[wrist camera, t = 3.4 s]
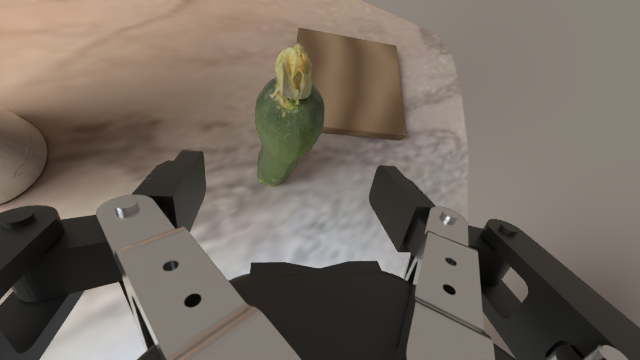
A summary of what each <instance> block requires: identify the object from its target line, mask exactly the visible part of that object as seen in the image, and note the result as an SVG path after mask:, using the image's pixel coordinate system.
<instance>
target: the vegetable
mask: <svg viewBox="0 0 640 360" xmlns="http://www.w3.org/2000/svg"><path fill="white" fill-rule="evenodd" d="M311 67H312V63H311V59H310V58H309V57H308V54H307V53H306V52H304V48H303V47H301V45H300V44H299V43H297V42H296V44H295V46H294V48H292V47H288V48H287V49H285V50H283V51H282V52H281V53H280V54H279V55H278V57H277V60H276V63H275V72H276V78H274V79H272V80H271V81H270V82H269V83H268V84H267V85H266V86H265V87H264V89H263V90H262V92H261V93H260V95H259V96H258V98H257V102H256V108H255V123H256V128H257V131H258V133H259V135H260V138H261V141H262V144H263V145H262V148H261V150H260V153H259V157H258V177H259V182H260V183H264V184H266V185H267V184H268V185H270V186H272V187H273V186H277V185H280V184H281V183H283V182H284V181H285V180H286V179H287V177H288V176H289V175H290V173H291V172H292V171H293V170H294V168H295V167H296V165H297V163H298V161H299V159H300V158H301V157H302V156H304V155H306V154H307V153H308V152H309V151H310V149H311V148H312V147H313V145H314V144H315V142H316V141H317V139H318V137H319V136H320V134H321V132H322V129H323V125H324V112H325V107H324V102H323V98H322V96H321V94H320V92H319V91H318V90H317V88H316V87H315V86H314V85H313V84H312V82H311V77H312V75H311Z"/></svg>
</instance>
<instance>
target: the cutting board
mask: <svg viewBox="0 0 640 360" xmlns="http://www.w3.org/2000/svg"><path fill="white" fill-rule="evenodd" d="M297 43H299V44H300V45H301V47H303V48H304V52H306V53H307V54H308V57H309V58H310V59H311V63H312V67H311V75H312V77H311V82H312V84H313V85H314V86H315V87H316V88H317V90H318V91H319V92H320V94H321V96H322V98H323V102H324V107H325V112H324V125H323V129H322V132H321V133H330V134H340V135H351V136H361V137H371V138H382V139H392V140H401V139H402V138H404V137H405V136H406V129H405V120H404V111H403V102H402V93H401V84H400V76H399V67H398V58H397V49H396V46H394V45H388V44H383V43H378V42H372V41H367V40H362V39H356V38H351V37H346V36H340V35H335V34H330V33H324V32H319V31H314V30H308V29H303V28H299V30H298V36H297Z"/></svg>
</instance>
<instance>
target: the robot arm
mask: <svg viewBox="0 0 640 360" xmlns="http://www.w3.org/2000/svg"><path fill="white" fill-rule="evenodd" d="M46 159H47V145H46V142H45V140H44V137H43V135H42V134H41V133H40V132H39V130H38V129H37V128H36V127H34V126H33V125H32V124H30V123H29V122H27V121H26V120H24V119H22V118H20V117H19V116H17V115H15V114H13V113H12V112H10V111H8V110H6V109H4V108H3V107H1V106H0V204H2V203H4V202H7V201H9V200H11V199H13V198H15V197H16V196H18V195H19V194H21V193H23V192H24V191H25V190H27V189H28V188H29V187H30V186H31V185H32V184H33V183H34V182H35V181H36V179H37V178H38V177H39V175H40V174H41V173H42V170H43V168H44V166H45V164H46ZM205 190H206V181H205V166H204V155H203V152H202V151H189V150H182V151H181V152H180V154H179V155H178V156H177V157H176V159H175V160H174V161H169V160H168V161H166V162H164V163H162V164H160V165H158V166H156V168H155V169H154V170H153V171H152V172H151V174H149V175H148V177H147V178H146V179H145V180H144V181H143V182H142V183H141V184H140V186H139V187H138V188H137V189H136V190H135V191H134V192H133V193H132V195H126V196H121V197H117V198H114V199H111V200H109V201H107V202H105V203H104V204H102V205H101V206H100V207H99V208H98V209H97V211H96V215H91V216H84V217H77V218H70V219H63V220H61V219H60V217H59V214H58V212H57V210H56V209H55V208H53V207H49V206H41V205H36V206H26V207H20V208H15V209H11V210H8V211H5V212H2V213H0V299H1V298H2V297H3V296H4V295H5V293H6V292H7V291H8V290H9V289H10V288H12V290H13V292H12V293H11V294H10V295H9V296H8V297H7V298H6V300H5V301H4V302H3V303H2V304H1V305H0V360H39V359H40V358H41V356H42V355H43V353H44V352H45V350H46V349H47V347H48V346H49V344H50V342H51V341H52V339H53V338H54V336H55V335H56V333H57V332H58V330H59V329H60V327H61V326H62V324H63V323H64V321H65V320H66V318H67V317H68V315H69V314H70V312H71V311H72V309H73V307H74V306H75V304H76V303H77V301H78V300H79V298H80V297H81V295H82V294H83V292H84V290H88V289H92V288H96V287H100V286H104V285H108V284H112V283H116V282H118V284H119V286H120V289H121V291H122V293H123V296H124V298H125V300H126V303H127V305H128V307H129V310H130V312H131V314H132V317H133V319H134V321H135V324H136V326H137V329H138V331H139V334H140V337H141V340H142V342H143V345H144V348H145V350H146V352H145V353H144V354H143V355H142V356H140V357H139V358H138V359H137V360H516V359H517V360H640V328H639V327H638V326H637V325H635V324H634V323H633V322H632V321H631V320H629V319H628V318H627V317H626V316H625V315H623V314H622V313H621V312H620V311H618V310H617V309H616V308H615V307H613V306H612V305H611V304H610V303H609V302H608V301H606V300H605V299H604V298H603V297H602V296H600V295H599V294H598V293H597V292H596V291H594V290H593V289H592V288H591V287H589V286H588V285H587V284H586V283H584V282H583V281H582V280H581V279H580V278H579V277H577V276H576V275H575V274H574V273H573V272H571V271H570V270H569V269H568V268H567V267H565V266H564V265H563V264H562V263H560V262H559V261H558V260H557V259H555V258H554V257H553V256H552V255H551V254H550V253H548V252H547V251H546V250H545V249H543V248H542V247H541V246H540V245H539V244H538V243H536V242H535V241H534V240H533V239H531V238H530V237H529V236H528V235H527V234H525V233H524V232H523V231H522V230H520V229H519V228H517V227H516V226H514V225H512V224H510V223H507V222H505V221H501V220H497V219H490V220H488V222H487V223H486V225H485V227H484V228H483V229H482V228H477V227H472V226H469V225H468V223H467V221H466V219H465V218H464V217H463V216H462V215H460V214H459V213H457V212H455V211H453V210H451V209H448V208H444V207H436V206H435V205H434V204H433V203H432V201H431V200H430V199H429V198H428V197H427V196H426V195H425V194H423V192H422V191H421V190H420V189H418V187H417V186H416V185H415V184H414V183H413V182H412V181H410V180H409V179H407V178H406V177H405V176H404V175H403V174H402V173H401V172H400V171H399V170H398V169H397V168H396V167H395V166H383V165H380V166H379V167H378V168H377V170H376V173H375V177H374V180H373V184H372V187H371V190H370V195H369V201H370V205H371V207H372V208H373V210H374V212H375V213H376V215H377V217H378V219H379V220H380V222H381V224H382V225H383V227H384V229H385V231H386V232H387V234H388V236H389V238H390V239H391V241H392V243H393V244H394V246H395V248H396V250H397V251H398V252H410V253H411V255H410V257H409V259H408V262H407V266H406V269H405V273H404V276H403V278H401V277H399V276H396V275H394V274H391V273H388V272H384V271H382V270H381V268H380V266H379V264H378V262H377V261H348V262H344V263H340V264H336V265H332V266H328V267H324V268H312V267H307V266H302V265H296V264H291V263H286V262H269V263H251V269H250V273H249V274H246V275H242V276H239V277H236V278H234V279H232V280H230V281H228V280H227V279H226V278H225V276H224V275H223V274H222V273H221V271H220V270H219V269H218V268H217V266H216V265H215V264H214V263H213V261H212V260H211V259H210V258H209V256H208V255H207V254H206V253H205V251H204V250H203V249H202V248H201V246H200V245H199V244H198V243H197V241H196V240H195V239H194V238H193V236H192V235H191V234H190V233H189V232H190V230H191V228H192V225H193V223H194V220H195V218H196V216H197V213H198V211H199V209H200V206H201V204H202V202H203V199H204V196H205ZM510 267H512V268H513V269H514V270H515V271H516V272H517V273H518V274H519V275H520V277H522V279H524V281H525V282H526V284H527V286H528V295H527V297H526V298H525V300H524V301H523V302H522V303H521V302H520V301H519V300H518V298H517V297H516V296H515V295H514V294H513V293H512V291H511V290H510V289H509V288H508V287H507V286H506V285H505V283H504V282H503V281H502V280H501V279H502V278H503V277H504V275H505V274H506V272H507V271H508V270H509V268H510ZM483 312H484V314H485V315H486V316H487V318H488V319H489V321H490V322H491V323H492V325H493V326H494V328H495V329H496V331H497V332H498V333H499V335H500V336H501V338H502V339H503V341H504V342H505V343H506V344H507V346H508V348H509V349H510V350H511V352H512V353H513V355H514V356H515V357H516V359H515V358H513V357H512V356H510V355H509V354H508V353H506V352H505V351H504V350H502V349H501V348H500V347H498V346H497V345H495V344H494V343H493V342H492V339H491V337H490V336H489V335H487V334H486V333H485V330H484V323H483Z"/></svg>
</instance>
